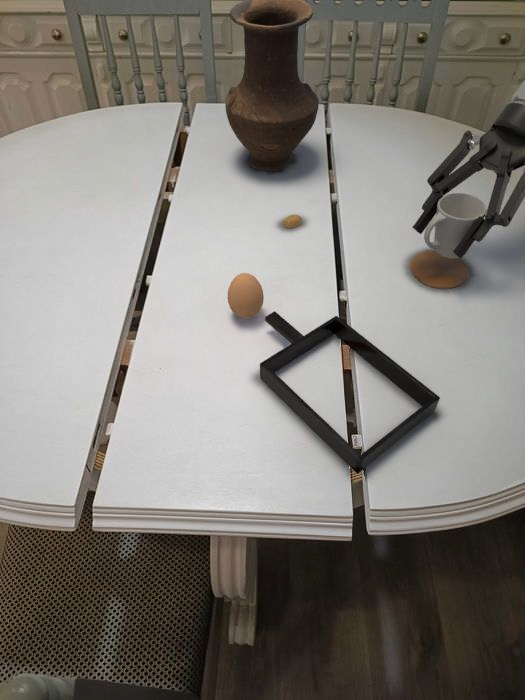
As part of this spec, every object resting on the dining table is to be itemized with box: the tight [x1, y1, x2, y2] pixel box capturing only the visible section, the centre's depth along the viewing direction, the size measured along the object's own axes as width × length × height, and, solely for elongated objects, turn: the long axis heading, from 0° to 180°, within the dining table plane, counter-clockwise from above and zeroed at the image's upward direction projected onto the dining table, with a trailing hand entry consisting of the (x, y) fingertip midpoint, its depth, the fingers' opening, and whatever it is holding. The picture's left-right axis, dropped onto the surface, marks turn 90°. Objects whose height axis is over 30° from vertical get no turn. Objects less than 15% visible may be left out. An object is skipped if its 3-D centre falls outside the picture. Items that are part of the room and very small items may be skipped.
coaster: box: [409, 250, 470, 290], centre depth 94 cm, size 10×10×1 cm
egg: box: [227, 272, 265, 319], centre depth 85 cm, size 6×6×8 cm
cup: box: [423, 192, 488, 258], centre depth 88 cm, size 8×10×8 cm
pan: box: [259, 311, 441, 474], centre depth 77 cm, size 27×15×4 cm, turn 39°
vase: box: [225, 0, 320, 172], centre depth 108 cm, size 19×19×30 cm
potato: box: [282, 214, 303, 229], centre depth 103 cm, size 3×4×2 cm, turn 118°
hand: (436, 242), depth 87 cm, fingers closed on cup, 8 cm apart
